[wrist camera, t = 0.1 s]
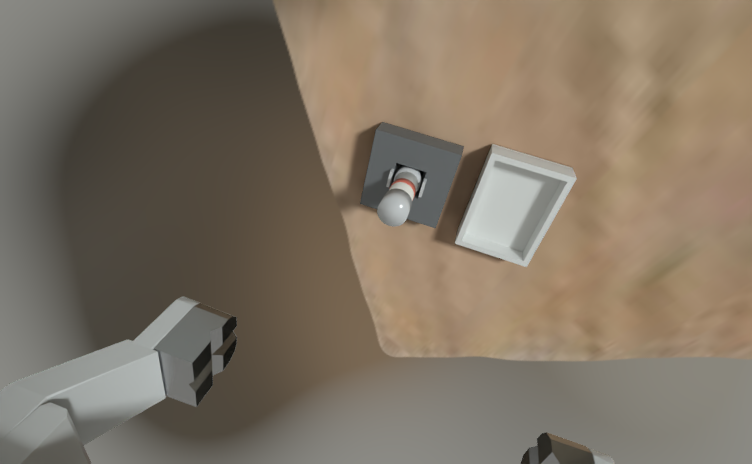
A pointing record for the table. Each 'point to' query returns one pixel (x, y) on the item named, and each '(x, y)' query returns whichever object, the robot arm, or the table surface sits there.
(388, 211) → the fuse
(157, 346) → the robot arm
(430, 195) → the fuse holder
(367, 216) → the table surface
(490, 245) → the tray
